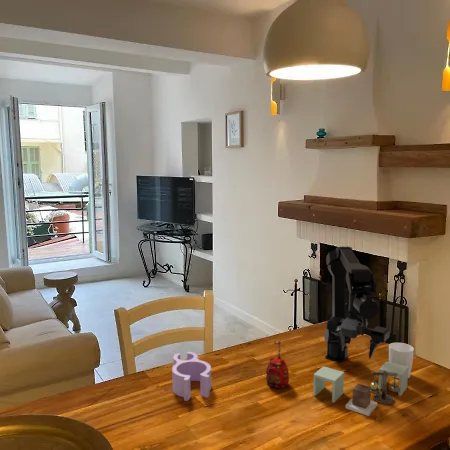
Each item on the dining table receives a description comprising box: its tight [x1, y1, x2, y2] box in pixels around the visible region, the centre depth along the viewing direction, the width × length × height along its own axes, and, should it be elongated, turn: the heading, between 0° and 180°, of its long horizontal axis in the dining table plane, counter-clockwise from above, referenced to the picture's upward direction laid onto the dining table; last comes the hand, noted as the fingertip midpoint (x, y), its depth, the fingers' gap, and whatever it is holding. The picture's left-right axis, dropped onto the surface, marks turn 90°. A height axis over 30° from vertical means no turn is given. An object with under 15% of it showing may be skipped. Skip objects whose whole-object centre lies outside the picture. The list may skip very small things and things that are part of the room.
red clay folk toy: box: [265, 337, 290, 390], centre depth 148 cm, size 8×7×15 cm
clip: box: [171, 351, 212, 402], centre depth 148 cm, size 20×12×7 cm, turn 17°
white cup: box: [388, 342, 415, 379], centre depth 154 cm, size 8×8×10 cm
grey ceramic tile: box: [345, 398, 378, 417], centre depth 135 cm, size 7×7×1 cm
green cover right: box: [378, 360, 409, 397], centre depth 145 cm, size 7×7×7 cm
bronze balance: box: [370, 371, 400, 406], centre depth 138 cm, size 9×4×10 cm, turn 53°
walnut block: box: [351, 383, 372, 409], centre depth 134 cm, size 4×4×5 cm
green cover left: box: [312, 366, 345, 403], centre depth 142 cm, size 7×7×7 cm
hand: (355, 354), depth 144 cm, fingers open, 9 cm apart
